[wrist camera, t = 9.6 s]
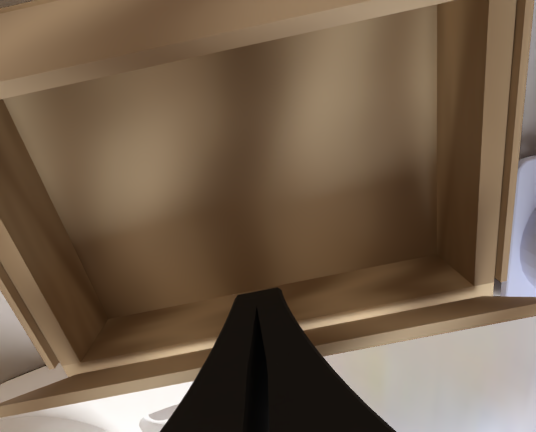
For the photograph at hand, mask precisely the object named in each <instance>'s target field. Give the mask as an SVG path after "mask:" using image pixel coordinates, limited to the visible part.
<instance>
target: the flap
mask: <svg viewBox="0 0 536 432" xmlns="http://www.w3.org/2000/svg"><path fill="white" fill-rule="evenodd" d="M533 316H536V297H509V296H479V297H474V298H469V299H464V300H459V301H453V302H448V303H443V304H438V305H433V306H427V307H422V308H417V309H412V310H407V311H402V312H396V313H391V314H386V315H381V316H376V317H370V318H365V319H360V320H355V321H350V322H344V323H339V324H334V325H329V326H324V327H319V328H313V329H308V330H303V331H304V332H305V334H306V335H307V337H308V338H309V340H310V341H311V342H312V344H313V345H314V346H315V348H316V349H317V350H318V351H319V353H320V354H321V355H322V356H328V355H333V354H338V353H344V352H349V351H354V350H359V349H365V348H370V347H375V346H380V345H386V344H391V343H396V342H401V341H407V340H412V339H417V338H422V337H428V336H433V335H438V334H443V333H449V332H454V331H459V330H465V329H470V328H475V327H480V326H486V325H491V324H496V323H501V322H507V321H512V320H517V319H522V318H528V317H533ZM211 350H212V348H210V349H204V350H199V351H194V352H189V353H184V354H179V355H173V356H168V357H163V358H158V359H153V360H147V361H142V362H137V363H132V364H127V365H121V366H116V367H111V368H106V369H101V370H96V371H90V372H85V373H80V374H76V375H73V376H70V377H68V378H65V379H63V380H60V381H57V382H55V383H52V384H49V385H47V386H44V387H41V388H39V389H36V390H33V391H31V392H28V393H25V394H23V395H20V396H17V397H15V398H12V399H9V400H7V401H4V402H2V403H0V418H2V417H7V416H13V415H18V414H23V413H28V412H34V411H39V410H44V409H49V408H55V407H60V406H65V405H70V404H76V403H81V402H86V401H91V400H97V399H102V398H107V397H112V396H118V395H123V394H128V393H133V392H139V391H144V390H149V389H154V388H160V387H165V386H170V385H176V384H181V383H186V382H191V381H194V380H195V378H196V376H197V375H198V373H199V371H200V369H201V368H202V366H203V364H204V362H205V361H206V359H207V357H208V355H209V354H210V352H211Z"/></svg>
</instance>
